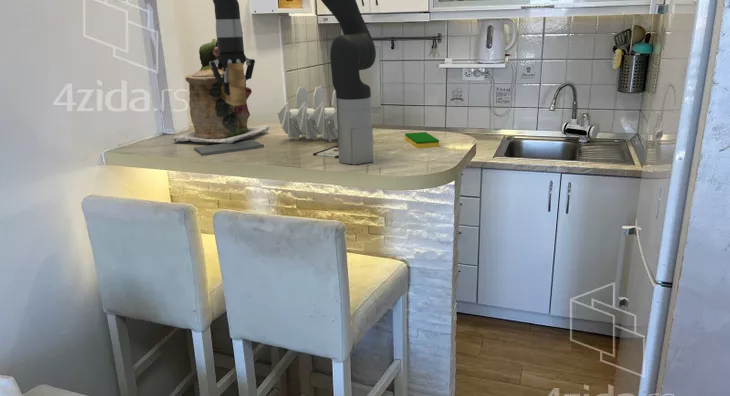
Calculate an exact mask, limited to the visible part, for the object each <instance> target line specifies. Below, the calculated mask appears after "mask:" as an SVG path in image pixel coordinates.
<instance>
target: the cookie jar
mask: <svg viewBox="0 0 730 396" xmlns="http://www.w3.org/2000/svg"><path fill="white" fill-rule="evenodd" d="M198 49H199V50H198V53H199V60H200V64H201V68H200V69H199V70H198V71H196V72H194V74H189V75H186V76H185V78H184V79H185V81H186V82H187V83H188V86H189V87H188V89H189V96H188V97H189V102H188V105H189V114H190V115H189V116H190V120H191V124H192V125H193V128H194V131H191V132H185V133H182V134H180V135H179V134H178V135H175V136H172V139H173V140H174V142H177V141H179V142H188V141H189V142H190V141H191V142H193V143H215V144H224V143H233V142H238V141H241V140H242V139H244V138H246V137H253V136H255V135H258V134H262V133H264V132H265V133H266V132H268V131H269V130H270V124H267V125H264V124H263V125H257V126H250V127H249V126H248V119H249V118H250V116H251V113H250V111H249V108H248V103H247V104H246V105H235V106H233V105H231V104H228V103H226V97H225V93H224V91H223V83H222V82H221V81H217V80H216V79H215V76H214V74H213V72H212V70H211V67H210V65H209V62H210V61H214V60H217V58H218V46H217V38H212V40H211V42H207V43H204V44H202V45H201V46H200V47H199V48H198ZM217 69H218V71H219V73H220V76H221V77H222V75H223V74H222V72H223V68H222V66H221V65H220V63H218V67H217ZM252 91H253V90H252V88H250V87H248V86H246V101H247V100H248V99H249V97H250V96H251V94H252Z"/></svg>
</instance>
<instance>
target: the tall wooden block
mask: <svg viewBox="0 0 730 396" xmlns="http://www.w3.org/2000/svg"><path fill="white" fill-rule="evenodd" d="M222 68H223V67H222ZM244 70H245V69H244V65H243V63H232V64H228V83H229V90H230V95H228V96H227V95H226V94H225V97H226V103H228V104H231V105H233V106H235V105H246V104H247V105H248V103H247V101H246V90H245V79H244V75H245V71H244ZM225 71H226V70H225Z"/></svg>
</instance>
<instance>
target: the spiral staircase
mask: <svg viewBox="0 0 730 396" xmlns="http://www.w3.org/2000/svg"><path fill="white" fill-rule="evenodd" d="M309 95H310V93H309V92H308V90H307V89H306V86H305V85H303V86H301V85H300V86H298V88H297V91H296V93H295V100H294V101H295V103H294V107H295V108H293V109H292V108H290V106H291V105H290V103H289V101H286V103H284V105H283V106H282V107H281V108H280V109H279V110H278V112H277V117H278V121H279V123H280V125H281V129H282V131H284V133H285V134H286V135H287V138H290V139H291V138H293V139H295V141H297V140H298V139H299V138H300V136H302V137H304V136H305V139H306V140H308V139H312V141H315V140H316V139H317V137H318V136H321V138H322V139H324V140H328V142H329V143H331V142H332V141H333V139H334V140H338V131H337V106H336V91H335V89H333V92H332V98H331V107H327V106H328V101H327V99H326V91H325V90H324V89H323V85H321V84H320V85H319V86H315V88H314V91H313V95H312V104H311V102H310V98H309V97H310V96H309ZM311 106H312V108H311Z"/></svg>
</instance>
